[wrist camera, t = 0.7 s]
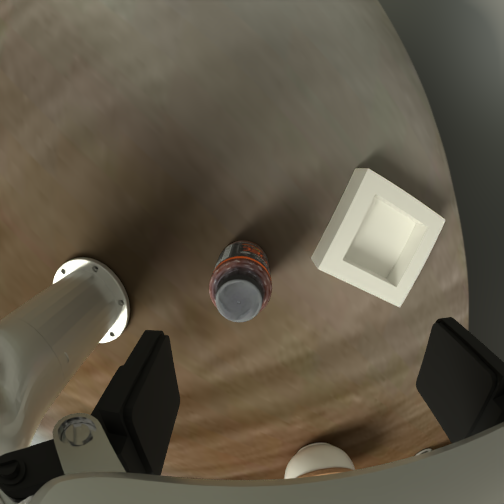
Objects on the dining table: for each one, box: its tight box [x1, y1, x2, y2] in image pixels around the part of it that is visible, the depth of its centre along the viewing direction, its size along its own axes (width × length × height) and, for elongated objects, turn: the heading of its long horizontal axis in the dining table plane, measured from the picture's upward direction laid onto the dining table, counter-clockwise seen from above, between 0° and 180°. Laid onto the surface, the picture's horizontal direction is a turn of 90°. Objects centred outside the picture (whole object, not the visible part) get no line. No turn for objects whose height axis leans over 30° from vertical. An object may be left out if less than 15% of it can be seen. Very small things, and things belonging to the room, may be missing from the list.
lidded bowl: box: [284, 442, 355, 479], centre depth 40 cm, size 13×13×11 cm
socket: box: [311, 168, 445, 307], centre depth 33 cm, size 12×12×4 cm
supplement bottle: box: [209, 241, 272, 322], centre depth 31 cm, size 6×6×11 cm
